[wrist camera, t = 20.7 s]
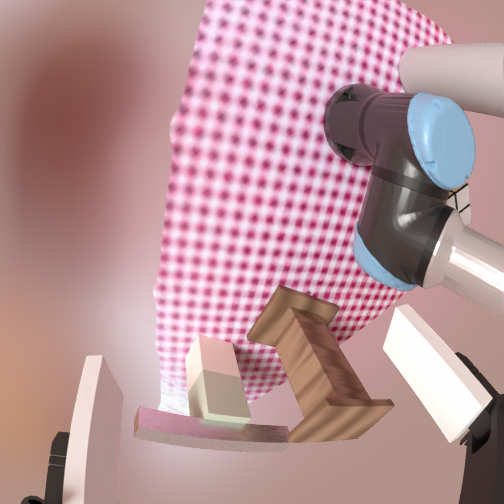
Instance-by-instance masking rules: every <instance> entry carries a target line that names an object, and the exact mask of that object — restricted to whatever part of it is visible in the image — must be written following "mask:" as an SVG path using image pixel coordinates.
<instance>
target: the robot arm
mask: <svg viewBox="0 0 504 504" xmlns="http://www.w3.org/2000/svg"><path fill="white" fill-rule="evenodd" d="M324 131H325V135H326V138H327V141H328V143H329V145H330V146H331V148H332V149H333V151H334V152H335V153H336V154H337V155H338V156H339V157H341V158H342V159H344V160H345V161H348V162H350V163H353V164H356V165H360V166H371V165H373V168H372V172H371V176H370V180H369V184H368V188H367V191H366V195H365V199H364V203H363V206H362V210H361V213H360V217H359V220H358V222H357V223H356V233H355V237H354V241H353V246H352V250H353V254H354V256H355V260H356V261H357V263H358V264H359V266H360V267H361V268H362V269H363V270H364V271H365V272H366V273H367V274H368V275H370V276H371V277H372V278H374V279H375V280H377V281H378V282H380V283H382V284H383V285H386V286H388V287H390V288H392V287H395V288H396V289H397V290H400V291H410V290H412V289H414V288H415V287H417V286H418V285H419V286H421V287H423V288H424V289H428V288H431V287H434V286H437V285H442V286H444V287H446V288H448V289H450V290H451V291H453V292H455V293H456V294H458V295H460V296H462V297H463V298H465V299H467V300H469V301H470V302H472V303H474V304H475V305H477V306H479V307H481V308H482V309H484V310H486V311H487V312H489V313H490V314H492V315H494V316H496V317H497V318H499V319H500V320H502V321H504V246H503V245H502V244H500V243H498V242H496V241H494V240H492V239H490V238H488V237H486V236H484V235H482V234H480V233H479V232H477V231H474V230H473V229H470V228H468V227H467V226H465V225H464V223H463V221H462V218H461V216H460V213H459V211H458V210H457V209H455V208H452V207H450V206H448V205H447V199H448V196H449V192H450V190H451V189H457V188H459V187H461V186H463V185H464V184H465V179H468V178H469V177H470V175H471V173H472V170H473V167H474V162H475V151H476V148H475V138H474V133H473V130H472V128H471V126H470V122H469V119H468V117H467V116H466V114H465V113H464V111H463V110H462V109H461V107H460V106H459V105H458V104H456V103H455V102H454V101H452V100H451V99H449V98H446V97H443V96H436V95H432V94H430V93H387V92H385V91H383V90H381V89H379V88H377V87H375V86H373V85H369V84H350V85H347V86H344V87H342V88H340V89H339V90H338V91H336V92H335V93H334V94H333V96H332V97H331V98H330V100H329V102H328V104H327V106H326V109H325V113H324ZM383 349H384V351H385V352H386V353H387V355H388V356H389V357H390V359H391V360H392V362H393V363H394V364H395V366H396V367H397V368H398V370H399V371H400V372H401V374H402V375H403V376H404V378H405V379H406V380H407V382H408V383H409V385H410V386H411V388H412V389H413V390H414V392H415V393H416V394H417V396H418V397H419V399H420V400H421V401H422V403H423V404H424V406H425V407H426V409H427V410H428V412H429V413H430V414H431V416H432V417H433V419H434V420H435V422H436V423H437V424H438V426H439V427H440V429H441V430H442V432H443V433H444V435H445V436H446V438H447V439H448V441H449V442H452V441H453V440H455V439H456V438H458V437H459V436H461V435H462V434H463V433H464V432H465V431H466V429H467V428H469V430H470V431H469V432H468V433H467V434H466V435H465V436H464V437H463V439H462V440H461V442H460V445H462V444H463V443H464V442H465V441H466V440H467V441H466V443H465V445H467V451H466V460H465V469H464V476H463V483H462V489H461V494H460V500H459V504H504V394H501V395H500V394H499V393H498V392H497V391H496V390H495V389H494V388H493V387H492V386H491V384H490V383H489V382H488V381H487V380H486V378H485V377H484V376H483V375H482V374H481V373H480V372H479V370H478V369H477V368H476V367H475V366H474V365H473V364H472V362H471V361H470V360H469V359H468V358H467V357H466V356H464V355H462V354H461V353H459V352H457V353H454V352H453V351H452V350H451V349H450V348H449V347H448V346H447V345H446V344H445V343H444V342H443V340H442V339H441V338H440V337H439V336H438V335H437V334H436V333H435V332H434V331H433V330H432V329H431V328H430V327H429V325H427V323H426V322H425V321H424V320H423V319H422V318H421V317H420V316H419V315H418V314H417V313H416V312H415V311H414V310H413V309H412V308H411V307H410V306H409V305H408V304H405V305H402V306H398V307H396V308H395V311H394V315H393V318H392V322H391V325H390V328H389V331H388V334H387V337H386V340H385V343H384V346H383ZM122 405H123V393H122V392H121V390H120V388H119V386H118V385H117V382H116V380H115V379H114V377H113V375H112V373H111V371H110V369H109V367H108V365H107V363H106V361H105V359H104V357H103V355H97V356H87V357H86V361H85V365H84V369H83V373H82V377H81V381H80V385H79V390H78V394H77V399H76V404H75V408H74V413H73V419H72V425H71V430H70V433H67V432H58V433H57V435H56V437H55V438H54V440H53V442H52V446H51V453H50V454H51V456H50V459H49V466H48V473H47V482H46V491H45V499H44V500H42V499H41V498H39V497H37V496H28V497H26V498H24V499H23V501H22V502H21V504H119V454H120V432H121V417H122Z"/></svg>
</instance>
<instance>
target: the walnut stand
mask: <svg viewBox="0 0 504 504" xmlns="http://www.w3.org/2000/svg"><path fill="white" fill-rule="evenodd" d="M338 310H339V307H338V306H337V305H335V304H332V303H329V302H326V301H323V300H321V299H318V298H315V297H312V296H309V295H306V294H303V293H300V292H298V291H295V290H292V289H289V288H286V287H283V286H281V285H279V286H278V287H277V289H276V290H275V292H274V294H273V295H272V297H271V298H270V300H269V302H268V303H267V305H266V306H265V308H264V309H263V311H262V313H261V314H260V316H259V317H258V319H257V320H256V322H255V324H254V325H253V327H252V328H251V330H250V331H249V333H248V334H247V339H248V341H252V342H256V343H260V344H264V345H269V346H273V347H276V350H277V352H278V355H279V357H280V360H281V362H282V365H283V367H284V370H285V372H286V374H287V377H288V379H289V382H290V384H291V387H292V389H293V392H294V394H295V396H296V399H297V402H298V404H299V406H300V409H301V411H302V414H303V416H304V420H302V421H301V423H299V425H297V426H296V427H295V428H294V429H293V430H292V431H291V432H290V433H288V434H287V438H288V440H289V443H302V442H323V441H338V440H349V439H357V438H359V437H360V436H361V435H363V434H364V433H365V432H366V431H367V430H368V429H370V428H371V427H372V426H373V425H374V424H375V423H377V422H378V421H379V420H380V419H381V418H382V417H383V416H384V415H385V414H386V413H387V412H388V411H390V410H391V409H392V408H393V407H394V404H393V402H392V401H391V400H390V399H388V400H371V398H370V397H369V395H368V393H367V392H366V390H365V388H364V387H363V385H362V383H361V382H360V380H359V379H358V377H357V375H356V374H355V372H354V370H353V369H352V367H351V366H350V364H349V362H348V361H347V359H346V357H345V356H344V354H343V353H342V351H341V349H340V348H339V346H338V345H337V343H336V341H335V340H334V338H333V337H332V335H331V333H330V332H329V330H328V329H327V325H328V324H329V323H330V321H331V320H332V319H333V317H334V316H335V315H336V313H337V312H338Z"/></svg>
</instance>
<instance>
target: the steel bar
mask: <svg viewBox="0 0 504 504" xmlns="http://www.w3.org/2000/svg"><path fill="white" fill-rule="evenodd" d="M288 433H289V430H288V427H287V426H271V425H255V424H243V423H233V422H224V421H216V420H209V419H202V418H196V417H189V416H184V415H178V414H173V413H168V412H163V411H158V410H153V409H149V408H144V407H139V408H138V411H137V413H136V415H135V418H134V438H138V439H143V440H148V441H153V442H158V443H165V444H171V445H178V446H185V447H193V448H201V449H211V450H223V451H240V452H282V451H284V450H285V449H286V448H287V447H288V446H290V445H291V444H292V443H289V440H288V438H287V434H288Z"/></svg>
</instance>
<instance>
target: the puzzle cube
mask: <svg viewBox="0 0 504 504" xmlns="http://www.w3.org/2000/svg"><path fill="white" fill-rule="evenodd" d="M469 203H470V197H469V187H468V183H466V182H465V184H464V185H463V186H461V187H459V188H457V189H451V190H450V192H449V196H448V199H447V205H448V206H450V207H452V208H455V209H457V210H458V211H459V213H460V216H461V218H462V221H463V223H464V225H465V226H467V225H468V224H470V223H471V210H470V204H469Z"/></svg>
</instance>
